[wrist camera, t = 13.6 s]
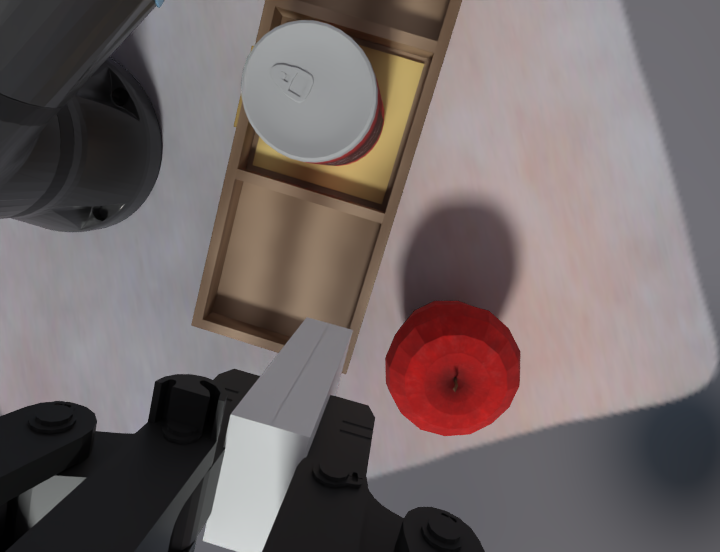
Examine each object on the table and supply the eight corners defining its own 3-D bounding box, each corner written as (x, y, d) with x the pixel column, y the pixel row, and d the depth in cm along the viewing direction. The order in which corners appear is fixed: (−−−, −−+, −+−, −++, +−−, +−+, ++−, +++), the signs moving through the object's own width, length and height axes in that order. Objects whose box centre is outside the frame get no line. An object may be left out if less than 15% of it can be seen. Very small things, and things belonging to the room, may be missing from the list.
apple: (416, 406, 44) (420, 480, 33) (368, 314, 42) (356, 360, 32) (520, 362, 42) (559, 425, 31) (473, 264, 41) (497, 295, 30)
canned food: (297, 52, 37) (254, 2, 27) (397, 78, 37) (394, 38, 26) (275, 151, 39) (226, 142, 28) (371, 177, 39) (358, 177, 28)
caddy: (202, 314, 44) (187, 324, 41) (317, -182, 35) (309, -215, 32) (350, 360, 43) (346, 374, 40) (502, -130, 35) (511, -158, 32)
